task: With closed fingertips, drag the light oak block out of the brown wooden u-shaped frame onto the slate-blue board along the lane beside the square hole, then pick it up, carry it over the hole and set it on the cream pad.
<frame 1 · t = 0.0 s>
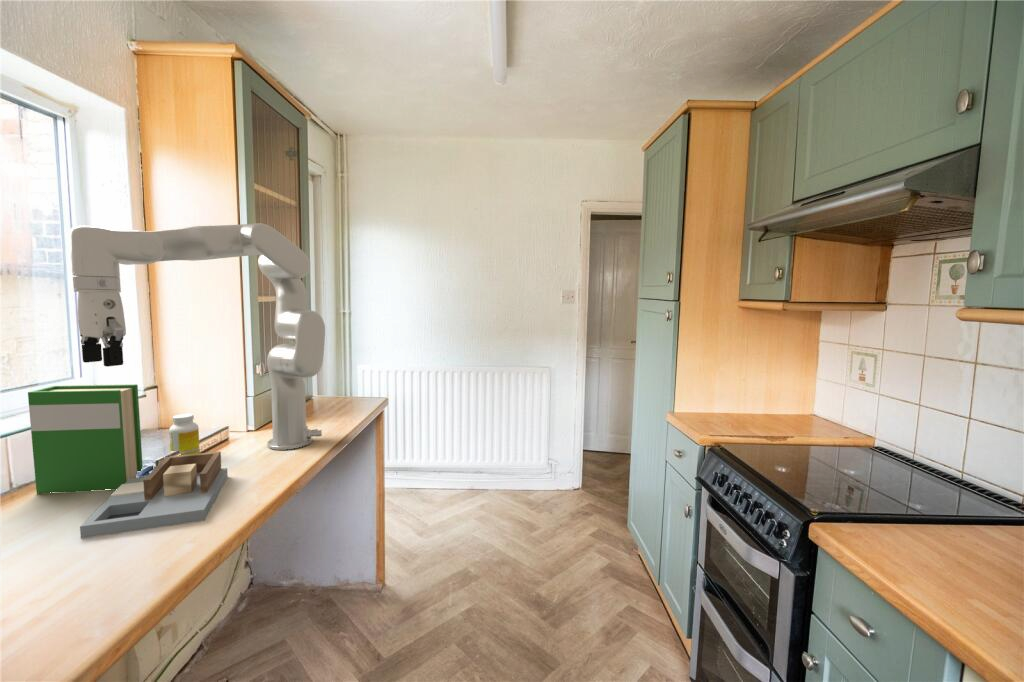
hand: (103, 363, 99), 31 cm above the table, tool pointing down, fingers open, 9 cm apart
supplement bottle: (185, 460, 126), on the table
brown wooden u-shaped frame: (186, 493, 105), resting on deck
hardback book: (92, 486, 109), on the table
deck: (165, 503, 101), on the table
block: (181, 489, 102), point 2 cm above the table, touching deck
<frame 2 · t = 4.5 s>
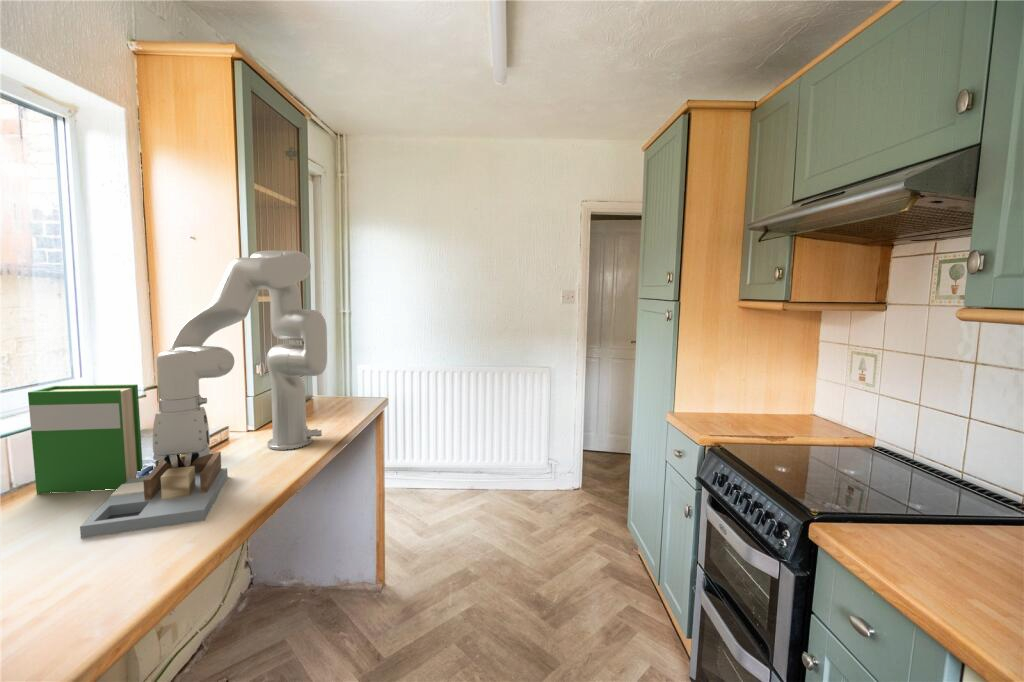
hand: (183, 481, 104), 3 cm above the table, tool pointing down, fingers closed
block: (179, 492, 101), point 2 cm above the table, touching gripper
everything else where it was.
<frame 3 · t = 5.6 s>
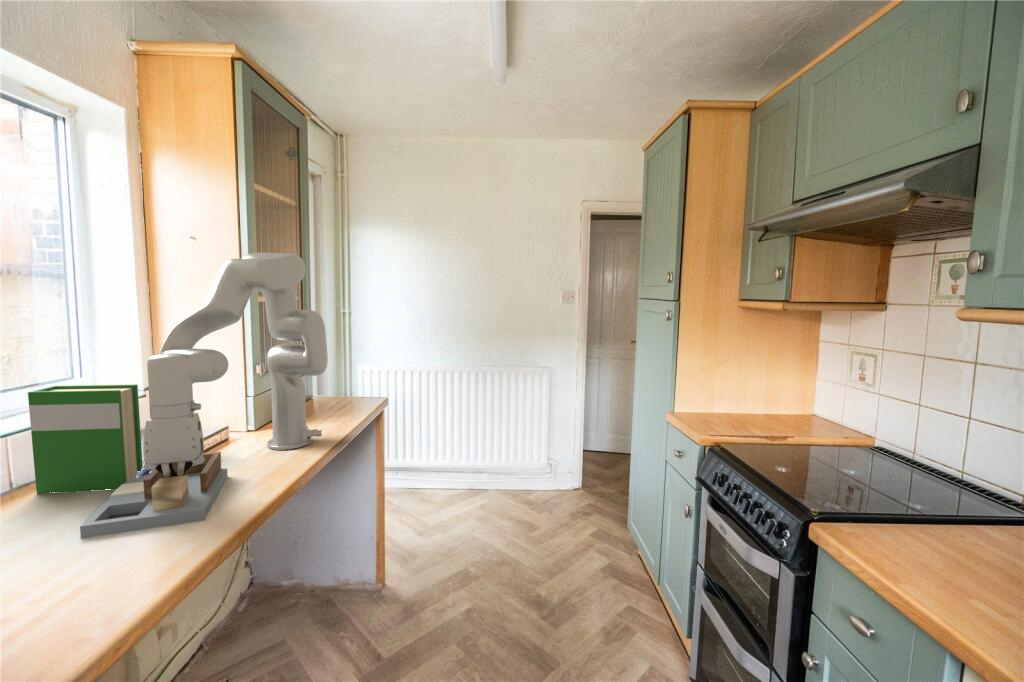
hand: (176, 491, 99), 3 cm above the table, tool pointing down, fingers closed
block: (171, 503, 95), point 2 cm above the table, touching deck, gripper
everything else where it was.
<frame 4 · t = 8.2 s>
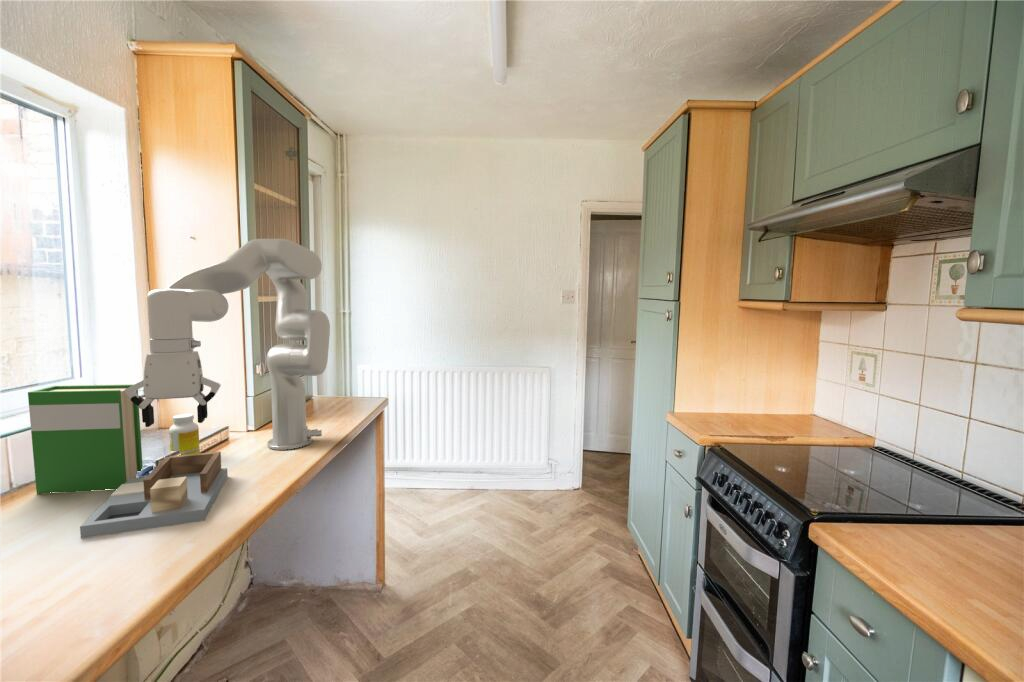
hand: (176, 423, 100), 18 cm above the table, tool pointing down, fingers open, 9 cm apart
block: (170, 505, 95), point 2 cm above the table, touching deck
everything else where it was.
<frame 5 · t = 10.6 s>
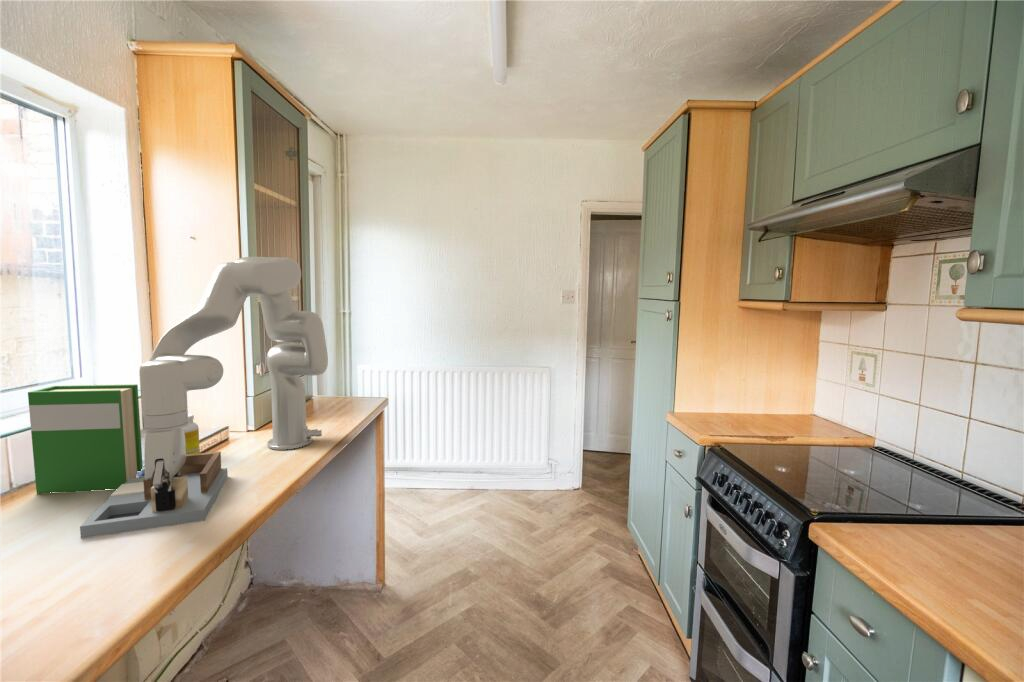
hand: (170, 502, 95), 3 cm above the table, tool pointing down, fingers closed on block, 4 cm apart
block: (170, 504, 95), point 2 cm above the table, touching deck, gripper
everything else where it was.
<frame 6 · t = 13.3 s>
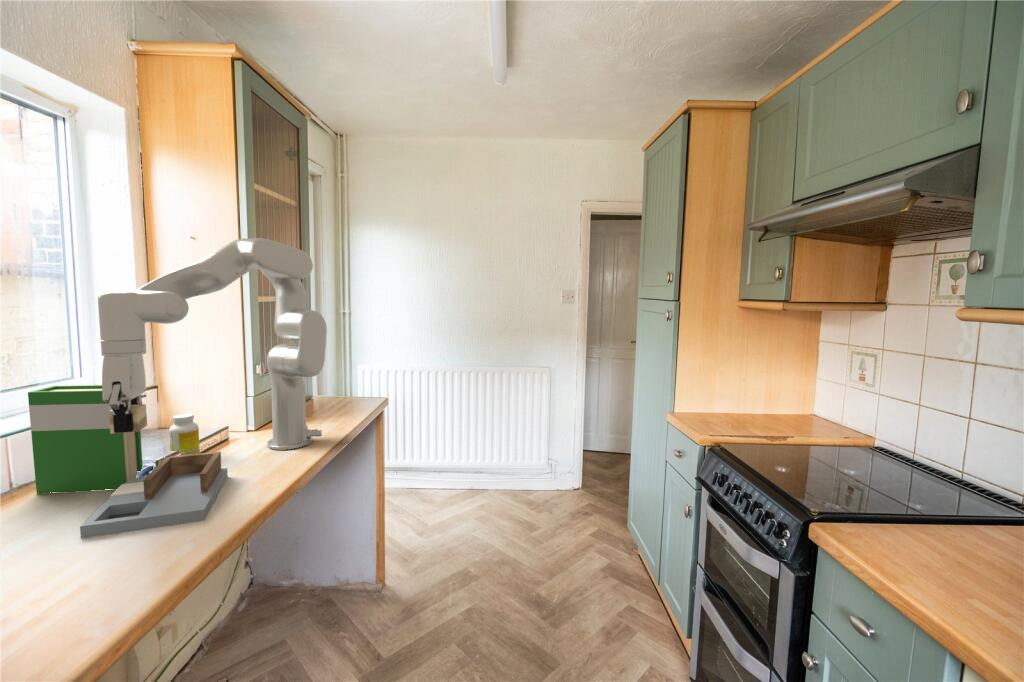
hand: (129, 427, 100), 17 cm above the table, tool pointing down, fingers closed on block, 4 cm apart
block: (129, 429, 100), point 16 cm above the table, touching gripper
everything else where it was.
when the fingers open (5 cm above the table, at t = 15.8 s): block drops 1 cm, resting on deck.
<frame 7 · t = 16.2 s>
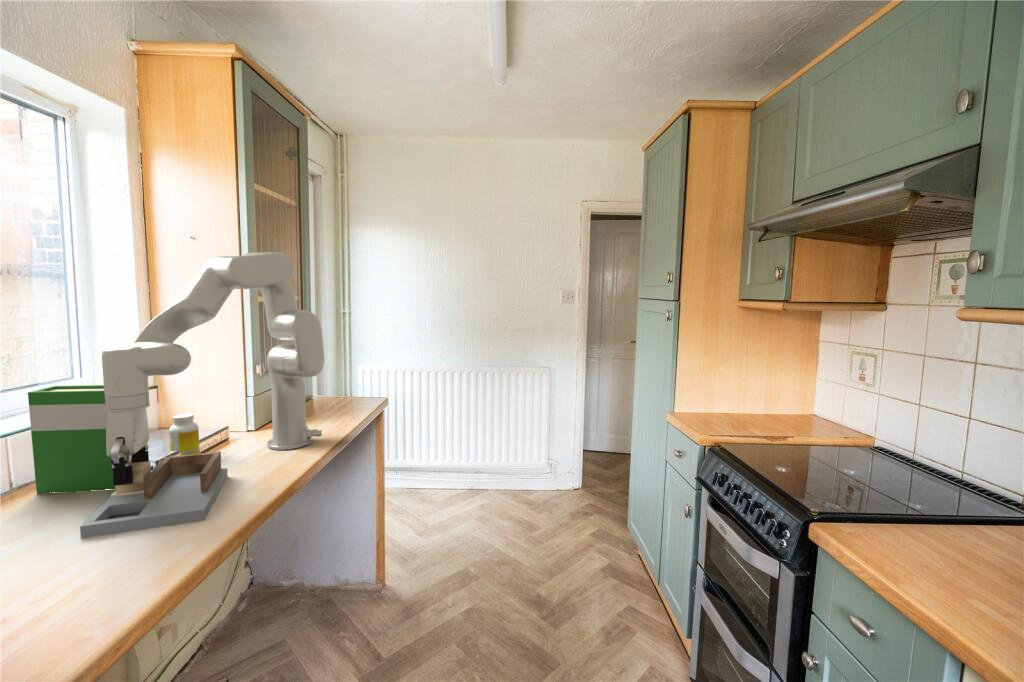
hand: (132, 475, 102), 6 cm above the table, tool pointing down, fingers open, 9 cm apart
block: (134, 487, 102), point 3 cm above the table, touching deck
everything else where it was.
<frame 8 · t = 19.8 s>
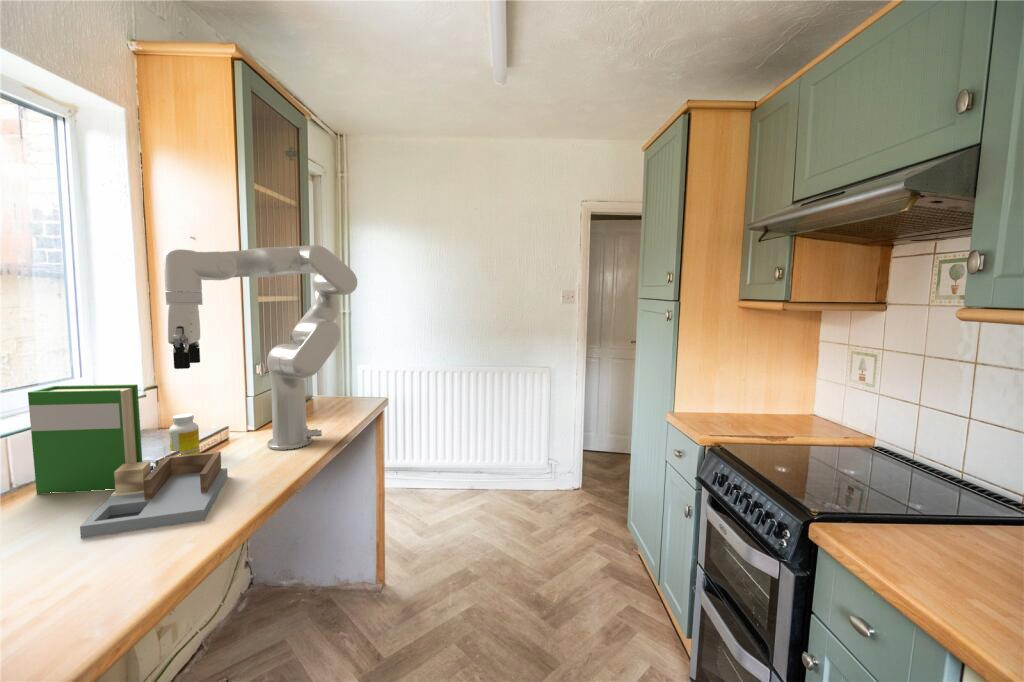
hand: (187, 365, 116), 28 cm above the table, tool pointing down, fingers open, 9 cm apart
nothing on the table moved.
at the end: block inside the target area (0.3 cm from its centre), point 2.8 cm above the table; block tilted 0°; the gripper is holding nothing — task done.
